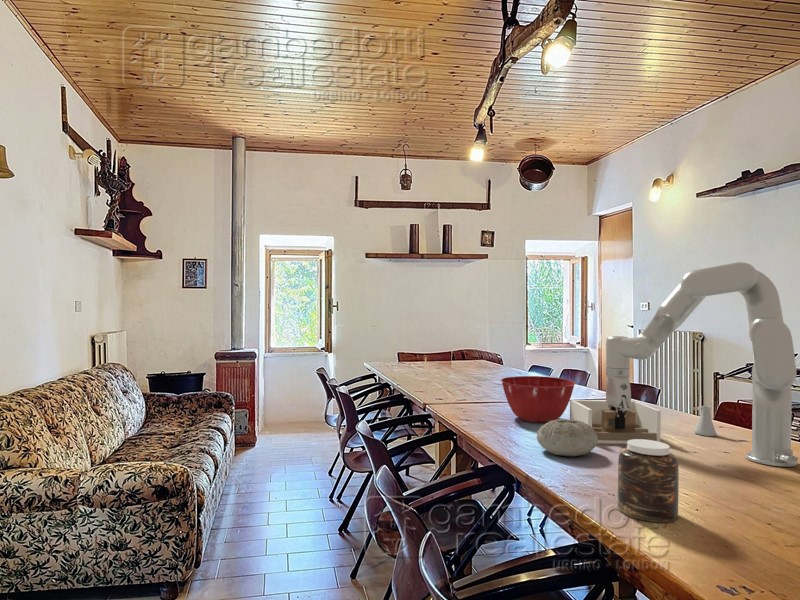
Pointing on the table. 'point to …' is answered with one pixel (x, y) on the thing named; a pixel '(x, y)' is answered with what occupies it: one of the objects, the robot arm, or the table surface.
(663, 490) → the jar
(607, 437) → the open white box
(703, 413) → the flask
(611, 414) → the cardboard box
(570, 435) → the decorative shell
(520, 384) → the mixing bowl
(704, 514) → the table surface
